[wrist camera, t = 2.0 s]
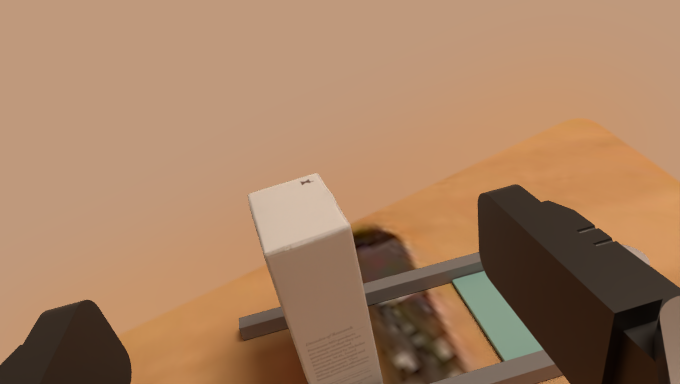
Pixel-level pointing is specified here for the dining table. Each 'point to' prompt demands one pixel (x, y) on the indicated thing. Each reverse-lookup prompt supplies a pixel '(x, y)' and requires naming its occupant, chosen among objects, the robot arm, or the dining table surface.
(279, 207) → the skincare box
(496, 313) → the guide channel
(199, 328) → the dining table surface
